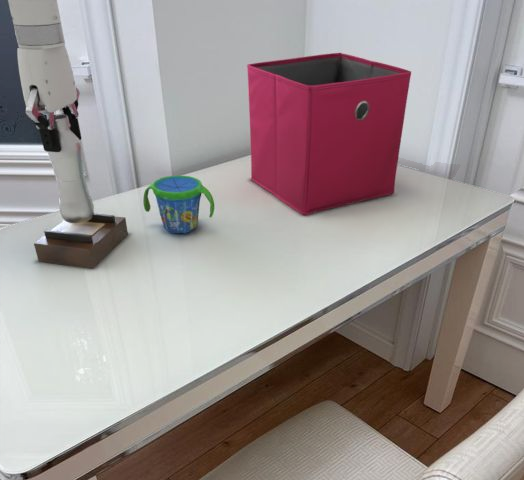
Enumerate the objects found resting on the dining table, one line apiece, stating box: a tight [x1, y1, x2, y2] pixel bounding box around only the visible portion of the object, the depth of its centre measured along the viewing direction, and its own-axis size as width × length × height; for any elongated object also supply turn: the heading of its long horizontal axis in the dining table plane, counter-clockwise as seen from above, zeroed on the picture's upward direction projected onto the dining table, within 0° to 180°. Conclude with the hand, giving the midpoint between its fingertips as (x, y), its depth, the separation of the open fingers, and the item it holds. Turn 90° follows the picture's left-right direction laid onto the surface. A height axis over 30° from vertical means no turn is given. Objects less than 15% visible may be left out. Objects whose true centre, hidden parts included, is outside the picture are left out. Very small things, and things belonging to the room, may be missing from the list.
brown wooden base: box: [33, 212, 129, 269], centre depth 114 cm, size 12×16×6 cm
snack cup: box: [142, 175, 215, 235], centre depth 120 cm, size 16×10×10 cm
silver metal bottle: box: [46, 113, 95, 223], centre depth 106 cm, size 6×7×20 cm
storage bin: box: [246, 52, 412, 217], centre depth 134 cm, size 28×29×28 cm
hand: (63, 144), depth 103 cm, fingers closed on silver metal bottle, 6 cm apart
